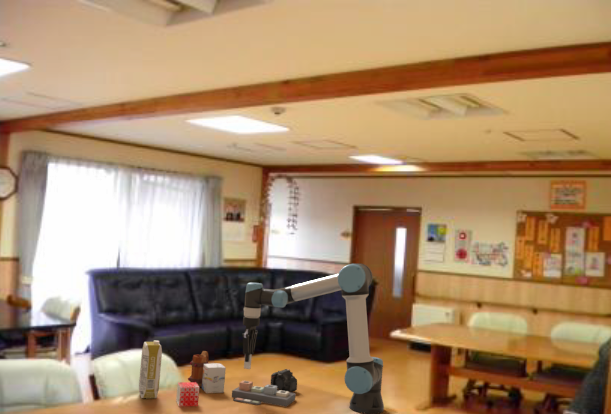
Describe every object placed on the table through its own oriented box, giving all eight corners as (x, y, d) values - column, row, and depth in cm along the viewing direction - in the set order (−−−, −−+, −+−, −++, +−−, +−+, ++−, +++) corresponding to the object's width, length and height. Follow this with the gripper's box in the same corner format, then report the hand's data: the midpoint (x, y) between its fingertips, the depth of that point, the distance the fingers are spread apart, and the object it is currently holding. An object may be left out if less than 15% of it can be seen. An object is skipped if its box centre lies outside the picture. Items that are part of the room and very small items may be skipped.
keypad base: (295, 400, 274) (295, 393, 274) (286, 406, 262) (286, 399, 262) (242, 391, 282) (242, 384, 282) (231, 397, 270) (232, 390, 270)
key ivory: (288, 399, 271) (289, 391, 271) (285, 402, 266) (286, 393, 266) (279, 398, 272) (279, 389, 272) (275, 400, 268) (276, 392, 268)
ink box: (201, 388, 281) (203, 363, 281) (218, 387, 284) (220, 362, 285) (206, 393, 273) (208, 367, 274) (224, 392, 277) (226, 367, 277)
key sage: (264, 395, 274) (264, 387, 275) (260, 397, 270) (260, 389, 270) (254, 393, 276) (255, 385, 276) (250, 396, 271) (251, 387, 272)
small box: (176, 401, 258) (177, 382, 259) (194, 400, 261) (196, 382, 261) (179, 406, 251) (180, 387, 251) (197, 406, 254) (199, 387, 254)
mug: (201, 389, 280) (204, 356, 280) (185, 386, 281) (187, 354, 282) (212, 382, 294) (215, 351, 294) (196, 379, 296) (199, 349, 296)
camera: (266, 390, 287) (267, 369, 287) (273, 385, 296) (275, 365, 297) (292, 394, 283) (294, 373, 283) (299, 389, 292) (301, 369, 292)
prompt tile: (261, 403, 264) (261, 401, 264) (258, 405, 261) (258, 403, 261) (236, 399, 268) (236, 397, 268) (233, 400, 265) (233, 398, 265)
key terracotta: (252, 389, 276) (252, 381, 276) (248, 392, 272) (248, 383, 272) (242, 388, 278) (243, 379, 278) (238, 390, 273) (239, 382, 274)
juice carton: (158, 399, 259) (163, 342, 260) (139, 399, 256) (144, 342, 257) (155, 393, 268) (160, 338, 269) (137, 393, 265) (142, 338, 266)
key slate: (276, 393, 273) (277, 385, 273) (273, 396, 268) (273, 387, 268) (267, 392, 274) (267, 383, 274) (263, 394, 270) (264, 386, 270)
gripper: (249, 314, 284) (245, 364, 283) (238, 317, 271) (233, 370, 270) (264, 316, 281) (260, 367, 280) (253, 319, 269) (249, 372, 268)
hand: (247, 368), depth 275 cm, fingers closed
